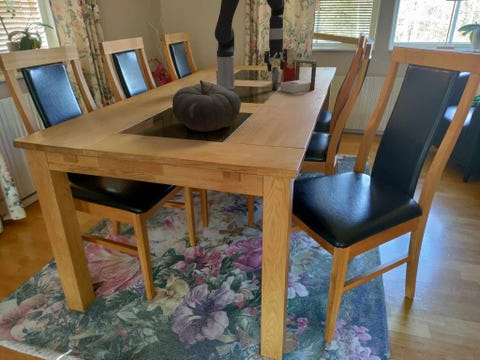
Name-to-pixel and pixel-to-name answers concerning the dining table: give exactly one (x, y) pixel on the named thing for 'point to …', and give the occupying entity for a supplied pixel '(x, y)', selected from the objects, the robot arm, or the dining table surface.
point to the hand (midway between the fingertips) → (275, 70)
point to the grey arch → (313, 72)
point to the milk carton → (288, 68)
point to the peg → (274, 78)
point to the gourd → (206, 107)
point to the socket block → (295, 86)
